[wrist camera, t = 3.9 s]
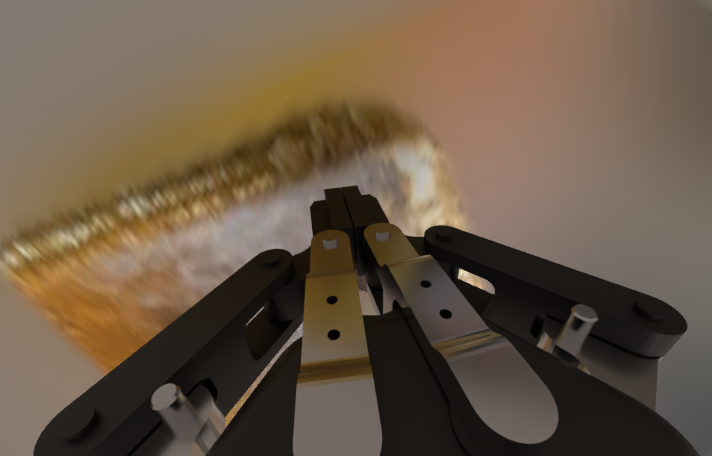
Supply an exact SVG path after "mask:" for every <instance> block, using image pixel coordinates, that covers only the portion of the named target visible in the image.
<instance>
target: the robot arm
mask: <svg viewBox="0 0 712 456" xmlns="http://www.w3.org/2000/svg"><path fill="white" fill-rule="evenodd" d="M324 194H325V200H321V201H314V202H313V204H312V205H311V207H310V212H311V222H312V232H313V238H312V240H311V246H310V247H309V248H308V249H307V250H305V251H303V252H301V253H299V254H296V255H294V256H292V255H291V253H290V252H288V251H286V250H283V249H271V250H267V251H264V252H262V253H260V254H258V255H257V256H255V257H254V258H253V259H252V260H250V261H249V262H248V263H247V264H245V265H244V266H243V267H242V268H240V269H239V270H238V271H237V272H235V273H234V274H233V275H231V276H230V277H229V278H228V279H226V280H225V281H224V282H223V283H221V284H220V285H219V286H218V287H216V288H215V289H214V290H213V291H211V292H210V293H209V294H208V295H206V296H205V297H204V298H203V299H201V300H200V301H199V302H198V303H196V304H195V305H194V306H193V307H191V308H190V309H189V310H188V311H186V312H185V313H184V314H183V315H181V316H180V317H179V318H177V319H176V320H175V321H174V322H172V323H171V324H170V325H169V326H167V327H166V328H165V329H164V330H162V331H161V332H160V333H159V334H157V335H156V336H155V337H154V338H152V339H151V340H150V341H149V342H147V343H146V344H145V345H144V346H142V347H141V348H140V349H139V350H137V351H136V352H135V353H134V354H132V355H131V356H130V357H129V358H127V359H126V360H125V361H123V362H122V363H121V364H120V365H118V366H117V367H116V368H115V369H113V370H112V371H111V372H110V373H108V374H107V375H106V376H105V377H103V378H102V379H101V380H100V381H98V382H97V383H96V384H95V385H93V386H92V387H91V388H90V389H89V390H87V391H86V392H85V393H83V394H82V395H81V396H80V397H78V398H77V399H76V400H75V401H73V402H72V403H71V404H70V405H68V406H67V407H66V408H64V409H63V410H62V411H61V412H60V413H59V414H57V416H56V417H54V418H53V419H52V420H51V422H50V423H49V424H48V425H47V426H46V428H45V429H44V430H43V432H42V433H41V435H40V437H39V438H38V440H37V443H36V445H35V449H34V456H700V455H699V454H698V453H697V452H696V450H695V449H694V447H693V446H692V445H691V444H690V443H689V442H688V441H687V440H686V439H685V437H684V436H683V435H682V434H681V433H680V432H679V431H678V430H677V429H676V428H674V427H673V426H672V425H671V424H670V423H669V422H668V421H666V420H665V419H664V418H663V417H662V416H660V415H659V414H658V413H656V412H655V411H656V391H657V370H658V363H659V362H660V361H661V360H662V358H663V357H664V356H665V355H666V353H667V352H668V351H669V350H670V349H671V348H672V347H673V346H674V344H675V343H676V342H677V341H678V340H679V339H680V337H681V336H682V335H683V334H684V333H685V331H686V330H687V322H686V320H685V319H684V317H683V316H682V315H681V314H680V313H679V312H678V311H677V310H676V309H674V308H673V307H672V306H670V305H668V304H667V303H665V302H663V301H661V300H659V299H657V298H655V297H652V296H649V295H646V294H644V293H641V292H638V291H635V290H632V289H629V288H626V287H623V286H621V285H618V284H615V283H612V282H609V281H606V280H603V279H600V278H598V277H595V276H592V275H589V274H586V273H583V272H580V271H577V270H574V269H572V268H569V267H566V266H563V265H560V264H557V263H554V262H551V261H549V260H546V259H543V258H540V257H537V256H534V255H531V254H528V253H526V252H522V251H520V250H517V249H514V248H511V247H508V246H505V245H502V244H499V243H497V242H494V241H491V240H488V239H485V238H482V237H479V236H477V235H474V234H471V233H468V232H465V231H462V230H459V229H456V228H454V227H450V226H444V225H439V226H433V227H430V228H428V229H427V230H426V231H425V234H424V237H412V236H406V235H404V234H403V233H402V231H401V230H400V229H399V228H398V227H397V226H395V225H393V224H390V223H389V221H388V219H387V217H386V215H385V213H384V212H383V210H382V208H381V206H380V204H379V202H378V200H377V199H376V198H375V197H373V196H371V195H370V194H367V195H361V193H360V191H359V189H358V187H357V185H356V186H348V187H341V189H340V188H332V189H324ZM459 268H460V269H463V270H465V271H467V272H470V273H472V274H474V275H477V276H479V277H481V278H484V279H486V280H488V281H489V282H490V283H491V284H492V285H493V286H494V288H495V294H491V293H489V292H487V291H484V290H482V289H480V288H478V287H475V286H473V285H471V284H469V283H467V282H464V281H462V280H460V279H458V274H459ZM356 271H357V274H358V276H362V275H365V278H366V290H367V293H368V295H369V297H370V300H371V302H372V305H373V307H374V310H375V312H376V315H362V309H361V303H360V297H359V290H358V284H357V277H356ZM262 307H264V309H263V310H262V311H261V312H260V313H259V314H258V315H257V316H256V317H255V318H254V319H253V320H252V321H251V322H250V323H249V324H248V325H247V326H246V324H247V323H248V321H249V320H250V319H251V318H252V317H253V316H254V315H255V314H256V313H257V312H258V311H259V310H260V309H261V308H262ZM302 322H303V336H302V337H300V338H299V339H298V340H296V341H295V342H293V343H292V344H291V345H290V346H289V347H288V348H287V349H286V350H285V351H284V352H283V353H282V354H281V355H280V357H279V358H278V359H277V361H276V362H275V363H274V365H273V366H272V367H271V369H270V370H269V371H268V372H267V374H266V375H265V376H264V378H263V379H262V380H261V382H260V383H259V384H258V386H257V387H256V388H255V390H254V391H253V392H252V394H251V395H250V396H249V398H248V399H247V400H246V402H245V403H244V404H243V406H242V407H241V408H240V410H239V411H238V412H237V414H236V415H235V416H234V418H233V419H232V420H231V422H230V423H229V424H228V426H227V427H226V428H225V417H226V415H227V414H228V413H229V412H230V410H231V409H232V408H233V407H234V406H235V404H236V403H237V402H238V401H239V399H240V398H241V397H242V396H243V395H244V393H245V392H246V391H247V390H248V388H249V387H250V386H251V385H252V384H253V382H254V381H255V380H256V379H257V377H258V376H259V375H260V374H261V372H262V371H263V370H264V369H265V368H266V366H267V365H268V364H269V363H270V361H271V360H272V359H273V358H274V357H275V355H276V354H277V353H278V352H279V350H280V349H281V348H282V347H283V345H284V344H285V343H286V342H287V341H288V339H289V338H290V337H291V336H292V334H293V333H294V332H295V331H296V330H297V328H298V327H299V326H300V325H301V323H302ZM245 326H246V327H245Z"/></svg>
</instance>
